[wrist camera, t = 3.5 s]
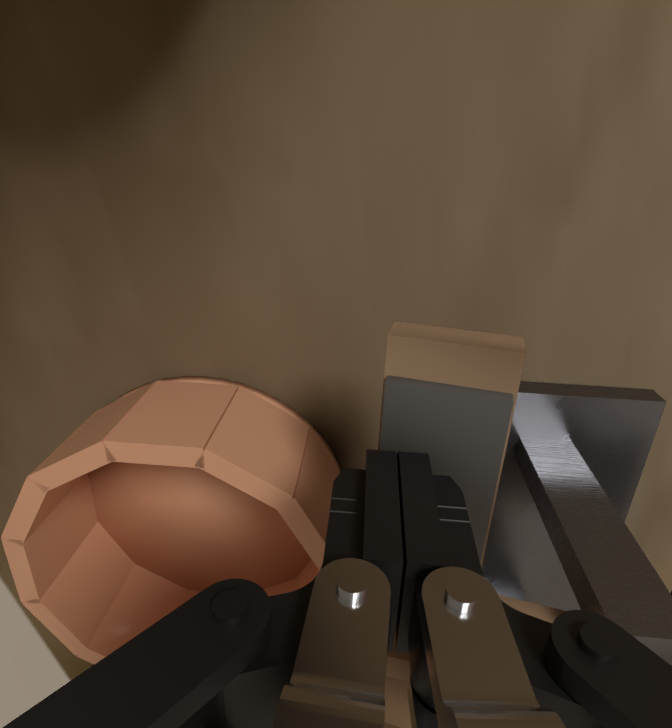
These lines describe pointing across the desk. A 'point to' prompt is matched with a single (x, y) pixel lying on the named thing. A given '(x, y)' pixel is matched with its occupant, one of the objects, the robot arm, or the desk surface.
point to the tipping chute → (451, 436)
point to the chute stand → (578, 507)
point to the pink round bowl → (168, 509)
